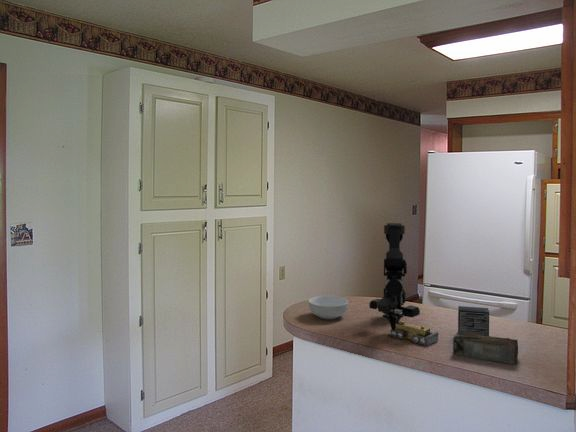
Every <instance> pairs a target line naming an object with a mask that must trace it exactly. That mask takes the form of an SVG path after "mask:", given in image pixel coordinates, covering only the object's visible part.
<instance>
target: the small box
mask: <svg viewBox="0 0 576 432" xmlns="http://www.w3.org/2000/svg"><path fill="white" fill-rule="evenodd" d="M457 309H458V310H457V312H458V313H457V317H458V318H457V332H462V333H468V334H476V335H483V336H490V309H489V307H479V306H478V307H476V306H475V307H474V306H465V305H463V306H461V305H459V306H458V308H457Z"/></svg>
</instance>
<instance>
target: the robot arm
mask: <svg viewBox="0 0 576 432" xmlns="http://www.w3.org/2000/svg"><path fill="white" fill-rule="evenodd" d="M405 230H406V228H405V225H402V222H387V224H386V225H385V224H384V225H383V234H384V235H385V239H386V241H387V242H388V245H389V246H388V251H386V253H385V258H384V259H383V276H384V277H385V278H386V280H385V281H386V283H385V285H384V288H383V297H382V298H376V299H372V300H370V302H369V303H368V304H369V305H368V306H369V307H368V308H369V309H372V310H377V311H378V312H380V313H382V314H383V317H386V318H387V319H388V323H389V325H390V328H391V329H394V330H396V323H399V322H400V320H401V318H402V317H406V318H407V317H408V318H414V317H417V316H419V315H420V314H421V309H420V308H419V306H414V305H411V304H410V305H407V306H404V304H405V303H406V297H407V295H406V294H407V293H406V291H405V289H403V277H406V274H407V273H408V272H407V270H408V269H407V261H406V259H404V253H403V252H402V251H401V250H400V248H401V247H400V243H401V242H402V240H403V237H404V235H405V233H406V232H405Z"/></svg>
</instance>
